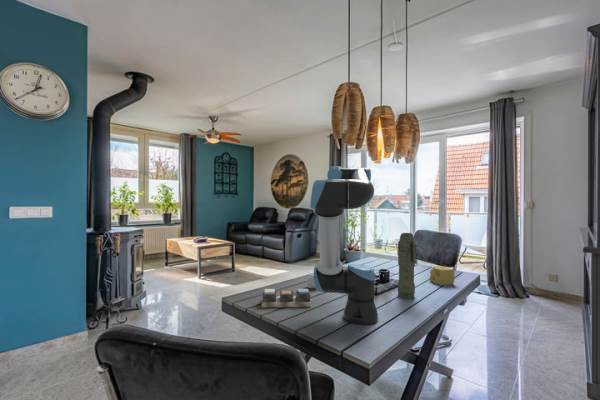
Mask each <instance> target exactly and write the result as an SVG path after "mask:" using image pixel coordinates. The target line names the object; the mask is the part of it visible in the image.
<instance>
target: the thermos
mask: <svg viewBox="0 0 600 400" xmlns="http://www.w3.org/2000/svg"><path fill="white" fill-rule="evenodd" d="M416 259H417V244H416V243H415V238H414V234H413V233H411V232H402V233H401V234H400V236H399V240H398V242H397V260H398V261H397V265H398V282H397V296H398V297H399V298H400V299H404V300H414V299H415V298H416V297H415V294H416V284H415V266H416V261H417V260H416Z"/></svg>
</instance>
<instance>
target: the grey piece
mask: <svg viewBox="0 0 600 400" xmlns="http://www.w3.org/2000/svg"><path fill="white" fill-rule="evenodd" d="M264 291H265V290H263V291H262V292H263V293H262V300H261V307H262V308H312V302H311V292H310V290H309V289H308V292H309V294H298V289H297V290H296V291H295V293H296V295H294V290H288V289H287V290H286V291H291V293H292V294H282V291H283V290H279V295H277V290H275V294H264Z"/></svg>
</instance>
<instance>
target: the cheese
mask: <svg viewBox="0 0 600 400" xmlns="http://www.w3.org/2000/svg"><path fill="white" fill-rule="evenodd" d="M429 273H430V276H429V282H430V281H431V282H430V283H433V282H434V284H435V285H438V284H439V286H449V285H451V284H452V285H454V283H455V269H453V268H451V267H450V268H449V267H446V266H443V265H437V266H434V267H432V269H430V271H429Z"/></svg>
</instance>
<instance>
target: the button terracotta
mask: <svg viewBox="0 0 600 400" xmlns="http://www.w3.org/2000/svg"><path fill="white" fill-rule="evenodd" d="M281 291H282V294H292V293H291V291H287V290H281Z"/></svg>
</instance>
